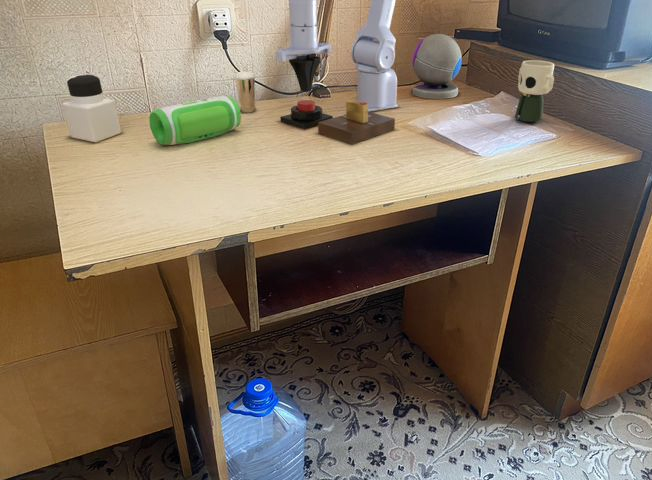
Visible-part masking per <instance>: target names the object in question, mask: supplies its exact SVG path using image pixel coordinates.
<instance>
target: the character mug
mask: <svg viewBox="0 0 652 480" xmlns="http://www.w3.org/2000/svg"><path fill="white" fill-rule="evenodd" d="M520 66H521V67H520V68H519V70H518V71H519V72H518V77H517V80H518V83H517V88H518V91H519V92H520V93H522V94H521V96H519V101H518V103H517V107H516V111H515V115H514V118H515V119H517V120H518V117H519V121H521V122H528V123H529V122H530V123H533V122H537V121H541V120H543V115H544V100H545V99H544V96H543V95H546V94H548V93H550V92H551V91H552V90H553V87H554V82H555V77H554V71H555V63H553V62H551V61H546V60H538V59H537V60H536V59H527V60H523V61H522V63H521V65H520Z"/></svg>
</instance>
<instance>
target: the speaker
mask: <svg viewBox="0 0 652 480" xmlns="http://www.w3.org/2000/svg"><path fill="white" fill-rule="evenodd" d="M241 122H242V111H241V108H240V105H239V103H237V100H235V98H233V97H231V96H226V95H219V96H213V97H208V98H204V99H197V100H192V101H187V102H183V103H182V102H181V103H178V104H176V103H175V104H171V105H168V106H167V105H166V106H162V107H159V108H157V109H155V110H153V111H152V112H150V114H149V127H150V130H151V133H152V135H153V137H154V139H155V141H156V142H157V143H158V144H159V145H162V146H175V145H178V144H179V145H180V144H189V143H193V142H194V143H195V142H199V141H202V140H206V139H211V138H214V137H218V136H220V135H222V134H225V133H228V132H231V131H233V130H234V129H236V128H238V127H239V126H240V125H241Z"/></svg>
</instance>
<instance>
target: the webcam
mask: <svg viewBox="0 0 652 480" xmlns="http://www.w3.org/2000/svg"><path fill="white" fill-rule="evenodd" d="M462 62H463V55H462V51H461V48H460V46H459V44H458V43H457V41H456V40H454V39H453V38H452V37H451V36H449V35H447V34H443V33H434V34H430V35H428V36H426V37H424V38H423V39H422V40H421V41H420V42H419V43H418V45H417V47H416V49H415V51H414V54H413V57H412V68H413V71H414V74H415V75H416V77H417V78H418V80H420V81H421V82H422V84H417V85H415V86H413V89H412V95H413V96H416V97H418V98H423V99H435V100H443V99H445V100H446V99H452V98H455V97H457V96H458V94H459V87H458V85H456V84H453V83H452V81H453V80H454V79H455V78H456V77H457V75H458V74H459V72H460V70H461V67H462ZM450 82H451V83H450Z"/></svg>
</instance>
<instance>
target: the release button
mask: <svg viewBox="0 0 652 480" xmlns="http://www.w3.org/2000/svg"><path fill="white" fill-rule="evenodd" d="M315 105H316V101H314V100H311V99H301V100H298V101H297V103H296V106H298V110H299V111H314V110H315Z"/></svg>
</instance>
